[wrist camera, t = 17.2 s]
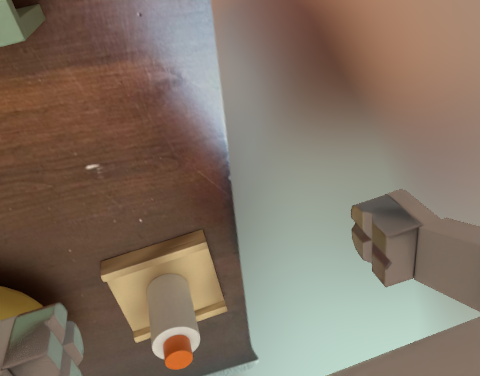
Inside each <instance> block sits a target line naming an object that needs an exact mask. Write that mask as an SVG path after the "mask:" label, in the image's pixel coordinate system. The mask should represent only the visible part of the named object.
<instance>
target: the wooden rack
mask: <svg viewBox="0 0 480 376" xmlns="http://www.w3.org/2000/svg"><path fill="white" fill-rule="evenodd" d="M165 274H177V275H180V276H182V277H184V278H185V279H186V280H187V282H188V285H189V289H190V294H191V298H192V303H193V307H194V312H195V316H196V321H200V320H203V319H206V318H209V317H212V316H214V315H217V314H220V313H223V312H226V311H227V308H226V305H225V301H224V298H223V295H222V292H221V288H220V285H219V282H218V279H217V275H216V272H215V269H214V265H213V262H212V259H211V256H210V252H209V249H208V246H207V243H206V239H205V236H204V233H203V230H198V231H195V232H192V233H189V234H186V235H183V236H180V237H177V238H173V239H170V240H167V241H164V242H161V243H158V244H155V245H151V246H148V247H145V248H142V249H139V250H136V251H133V252H130V253H126V254H123V255H120V256H117V257H114V258H111V259H108V260H104V261H101V278H102V280H103V282H106V281H107V283H108V285H109V287H110V289H111V291H112V293H113V294H114V296H115V298H116V300H117V302H118V304H119V306H120V308H121V310H122V311H123V313H124V315H125V317H126V319H127V321H128V323H129V325H130V326H131V328H132V330H133V335H134V340H135V341H136V343H137V342H140V341H143V340H146V339H149V338H151V333H150V322H149V311H148V301H147V288H148V286H149V284H150V283H151V282H152V281H153V280H154V279H155V278H157V277H159V276H161V275H165Z"/></svg>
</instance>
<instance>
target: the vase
mask: <svg viewBox="0 0 480 376" xmlns="http://www.w3.org/2000/svg"><path fill="white" fill-rule="evenodd" d="M41 307H43V306H42V305H41V304H40V303H38V302H37V301H36V300H34V299H33V298H31V297H29V296H27V295H25V294H24V293H22V292H19V291H16V290H13V289H10V288H7V287H1V286H0V320H3V319H7V318H10V317H13V316H17V315H19V314H22V313H25V312H28V311H32V310H35V309H38V308H41Z"/></svg>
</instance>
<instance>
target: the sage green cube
mask: <svg viewBox="0 0 480 376" xmlns="http://www.w3.org/2000/svg"><path fill="white" fill-rule="evenodd" d="M45 20H46V18H45V16H44V14H43V11H42V9H41V7H40V5H39V4H36V5H32V6H27V7H23V8H19V9H15V7H14V5H13V2H12V0H0V47H2V46H6V45H10V44H14V43H18V42H22V41H25V40H26V39H27V38H28V37H29V36H30V35H31V34H32V33H33V32H34V31H35V30H36V29H37V28H38V27H39V26H40V25H41V24H42V23H43V22H44V21H45Z"/></svg>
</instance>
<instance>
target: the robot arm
mask: <svg viewBox="0 0 480 376" xmlns="http://www.w3.org/2000/svg"><path fill="white" fill-rule="evenodd" d="M351 218H352V219H353V220H354V221H355V222H356V223H355V225H354V227H353V228H352V239H353V242H354V246H355V248H356V250H357V252H358V254H359V255H360V256H361V258H362V259H363V260H365V261H367V262H370V263H372V271H373V272H374V274H375V275H376V276H377V277H378V279H379V280H380V281H381V282H382V284H383V285H384V286H385V287H388V286H391V285H394V284H397V283H400V282H403V281H406V280H409V279H413V278H414V279H415V280H416V281H418V282H420V283H422V284H424V285H427V286H428V287H431V288H433V289H435V290H437V291H439V292H441V293H443V294H445V295H447V296H449V297H451V298H453V299H455V300H457V301H459V302H461V303H463V304H465V305H467V306H469V307H471V308H473V309H475V310H478V311H479V312H480V227H479V226H476V225H472V224H468V223H464V222H460V221H457V220H453V219H449V218H444V219H440V218H439V217H438V216H437V215H435V214H434V213H433V212H431V210H429V209H428V208H426V206H424V205H423V204H422V203H421V202H419V201H418V200H417V199H416V198H414V197H413V196H412V195H411V194H410V193H408V192H407V191H406V190H403V189H399V190H396V191H393V192H391V193H388V194H385V195H383V196H380V197H377V198H374V199H371V200H368V201H365V202H362V203H359V204H356V205H353V206H352V209H351ZM67 313H68V311H67V310H66V308H65V307H64V306H63V304H62V303H55V304H51V305H48V306H45V307H41V308H38V309H35V310H32V311H28V312H25V313H22V314H19V315H17V316H13V317H10V318H7V319H3V320H0V376H82V373H81V371H80V370H79V368H78V367H77V366H78V365H79V363H80V362H81V360H82V359H83V351H84V347H83V341H82V336H81V333H80V331H79V328H78V327H77V325H76V324H75V322H72V321H69V320H67ZM327 376H480V317H478V318H475V319H473V320H470V321H467V322H465V323H462V324H460V325H457V326H455V327H452V328H449V329H447V330H444V331H441V332H439V333H436V334H434V335H431V336H428V337H426V338H423V339H421V340H418V341H415V342H413V343H410V344H408V345H405V346H403V347H400V348H397V349H395V350H392V351H389V352H387V353H384V354H382V355H379V356H377V357H374V358H371V359H369V360H366V361H363V362H361V363H358V364H356V365H353V366H351V367H348V368H345V369H343V370H340V371H338V372H335V373H332V374H330V375H327Z"/></svg>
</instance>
